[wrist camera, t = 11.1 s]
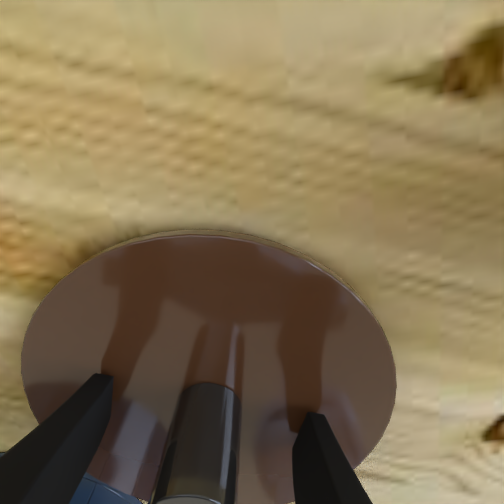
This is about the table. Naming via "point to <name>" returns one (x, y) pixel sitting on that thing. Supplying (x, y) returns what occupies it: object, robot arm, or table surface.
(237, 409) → the lid
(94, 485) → the bowl
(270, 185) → the table surface
